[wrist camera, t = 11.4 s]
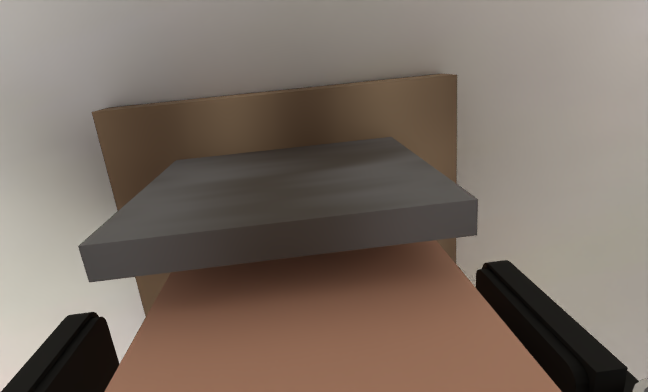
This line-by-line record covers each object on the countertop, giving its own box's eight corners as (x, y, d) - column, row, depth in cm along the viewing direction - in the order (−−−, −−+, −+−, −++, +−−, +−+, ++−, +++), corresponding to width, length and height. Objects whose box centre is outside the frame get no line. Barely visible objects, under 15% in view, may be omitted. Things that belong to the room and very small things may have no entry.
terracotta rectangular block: (389, 184, 16) (629, 472, 5) (393, 265, 17) (595, 656, 6) (208, 204, 16) (7, 566, 4) (223, 285, 17) (91, 741, 6)
